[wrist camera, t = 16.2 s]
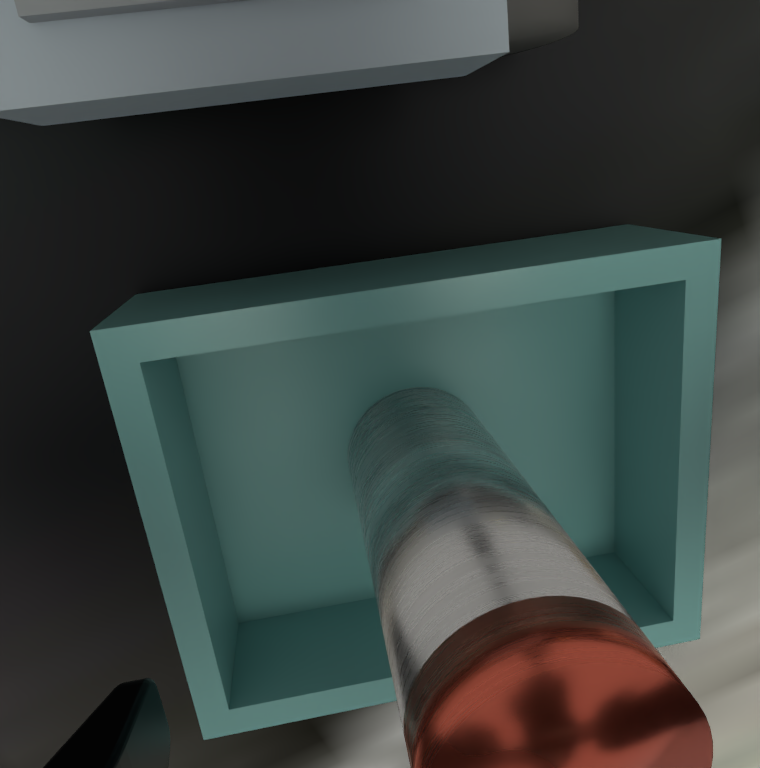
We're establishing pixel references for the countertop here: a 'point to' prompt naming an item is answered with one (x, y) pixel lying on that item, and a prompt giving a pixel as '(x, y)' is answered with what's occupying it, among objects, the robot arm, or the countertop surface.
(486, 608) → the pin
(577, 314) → the tray
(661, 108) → the countertop surface
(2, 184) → the countertop surface
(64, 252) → the countertop surface
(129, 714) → the robot arm
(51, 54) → the trolley
